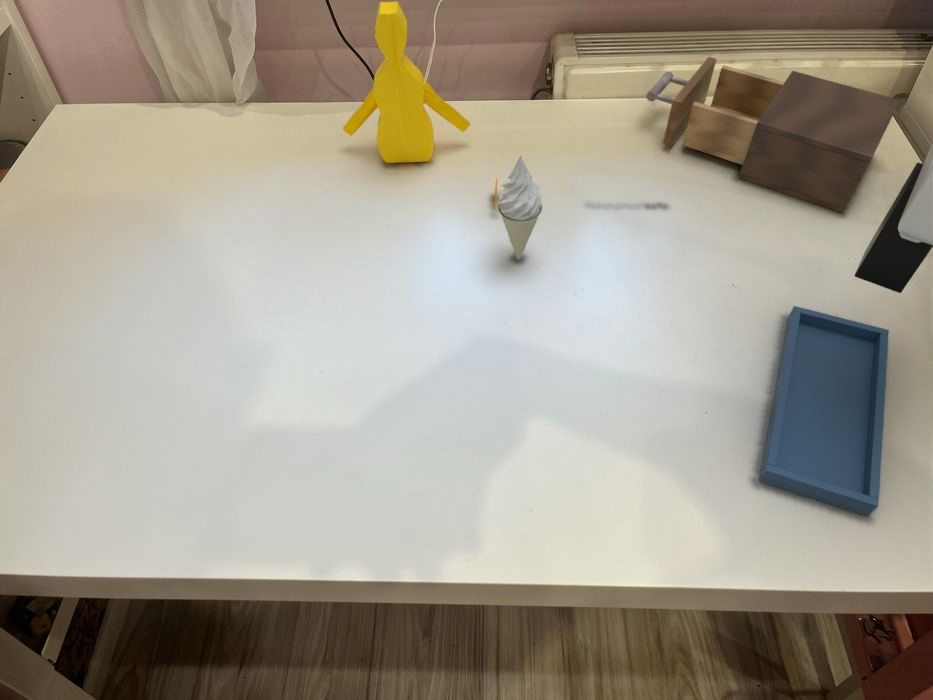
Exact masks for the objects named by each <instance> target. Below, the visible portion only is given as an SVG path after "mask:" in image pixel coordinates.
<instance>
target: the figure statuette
mask: <svg viewBox="0 0 933 700" xmlns="http://www.w3.org/2000/svg"><path fill="white" fill-rule="evenodd" d="M374 37H375V41H376V44H377V46H378V47H379V50H380V51H381V53H382V54H383V56H384V59H383V61H382V62H381V64H380V66H379V67H378V69H376V72H375V74H374V76H373V86H372V89H371V90H370V92H369V93H368V95H367V96H366V98H365V99H364V100H363V102H362V104H361V105H360V106H359V107H358V108H357V109H356V110H355V111H354V112H353V114H352V115H351V117H350V118H349V119H348V120H347V122H345V125H344V126H343V127H342V130H343V132H345V133H346V134H347V135H348V136H350V137H353V135H355V133H356V132H357V131H358V130H359V129H360V128H361V126H363V124H364V123H366V121H367V120H368V119H369V117H370V116H372V114H373V113H374V112H375V111H376V110H377V109H378V111H379V113H380V114H379V116H378V121H377V130H376V143H377V144H376V145H377V148H378V152H379V154H380V157H381V159H382V160H383V161H384V162H385V163H387V164H400V163H423V162H429V161H431V160H432V158H433V154H434V147H435V146H434V142H435V140H434V139H435V134H434V133H435V132H434V126H433V123H432V120H431V117H430V115H429V113H428V112H427V110H426V108H425V106H424V105H425V104H426V105H427V107H428V108H430V109H431V110H432V111H434V112H435V113H437V114H438V115H439V116H440V117H442V118H443V119H444V120H446V121H447V122H448V123H450V124H451V125H453V126H454V127H455V128H456V129H458V130H459V131H461V132H462V133H465V132H466V131H467V129H468V128H470V126H471V122H470V120H467V118H466V117H464V116H463V115H462V114H461V113H460V112H459V111H458V110H457V109H456V108H454V107H453V106H452V105H451V104H449V103H448V102H446V101H444V100H443V98H441V96H439V95H438V94H437V93H436V91H435V90H434V89H433V87H432V86H431V84H429V82H428V81H426V80H425V77H424V75H423V73H422V71H421V70H420V69H419V67H417V66H416V65H415V64H414V63H413V61H411V60H410V58H409V57H408V56H407V55H406V53H405V49H406V46H407V42H408V41H407V40H408V21H407V18H406V15H405V13H404V12H403V10H402V7H401V5H400V3H399V1H397V0H396V1H380V2H379V5H378V9H377V14H376V19H375V29H374Z"/></svg>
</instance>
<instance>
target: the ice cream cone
mask: <svg viewBox="0 0 933 700" xmlns="http://www.w3.org/2000/svg"><path fill="white" fill-rule="evenodd" d="M507 179H508V180H509V179H510V181H509V182H504V183H502V184H501V187H503V188H504V189H503V190H497V195H500V196H502V198H501V199H499V200H498V199H497V200H496V203H497V211H498V213H499V214H500V216H501V218H502V221H503V224H504V227H505V230H506V232H507V235H508V238H509V241H510V244H511V247H512V249H513V252H514V256H515V257H516V260H521V258H522V256H523V254H524V251H525V249H526V247H527V244H528V242H529V240H530V238H531V235H532V233H533V230H534V228H535V226H536V224H537V222H538V221H537V220H538V219H539V216H540V215H541V214H542V212H543V202H542V201H541V200H542V193H541V191H540V188H539V185H538V184H537V183H536V182H535V181H533V176H532V174H531V173H530V171H529V170H528V168H527V166H526V164H525V162H524V160H523V157H522V156H521V155H520V156H519V157H518V160H517V161H516V164H515V165H514V167H513V169H512V170H511V171H510V173H509V175H507Z"/></svg>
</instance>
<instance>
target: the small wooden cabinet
mask: <svg viewBox="0 0 933 700" xmlns="http://www.w3.org/2000/svg"><path fill="white" fill-rule="evenodd" d="M783 82H784V84H783V85H782V87H781V88H780V90H779V91H778V93H777V94H776V96H775V97H774V99H773V100H772V102H771V103H770V105H769V106H768V107H767V109H766V110H765V112H764V113H763V115H762V116H761V118H760V119H759V121H758V122H757V125H756V128H755V131H754V134H753V137H752V139H751V142H750V145H749V148H748V151H747V154H746V157H745V160H744V163H743V165H741V168H740V171H739V174H738V177H737V178H738V179H739V180H743V181H745V182H748V183H751V184H755V185H757V186H761V187H763V188H766V189H769V190H772V191H776V192H777V193H781V194H784V195H786V196H789V197H792V198H796V199H798V200H801V201H805V202H807V203H810V204H813V205H817V206H820V207H823V208H826V209H828V210H831V211H834V212H837V213H840V214H844V213H845V211H846V209H847V207H848V205H849V203H850V202H851V199H852V197H853V195H854V193H855V192H856V189H857V188H858V186H859V184H860V182H861V180H862V178H863V176H864V174H865V172H866V171H867V169H868V167H869V165H870V164H871V163H870V162H871V161H872V159H873V157H874V156H875V153H876V151H877V149H878V147H879V145H880V144H881V141H882V138H883V137H884V135H885V133H886V130H887V129H888V127H889V125H890V123H891V120H892V118H893V116H894V115H895V112H896V110H897V108H898V106H899V104H900V102H901V99H898V98H895V97H890V96H887V95H884V94H879V93H876V92H872V91H869V90H865V89H862V88H857V87H853V86H851V85H846V84H843V83H839V82H835V81H832V80H828V79H824V78H821V77H818V76H813V75H810V74H806V73H804V72H803V73H802V72H799V71H795V70H791V72H790V73H789V75H788V77H786V79H785V81H783Z"/></svg>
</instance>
